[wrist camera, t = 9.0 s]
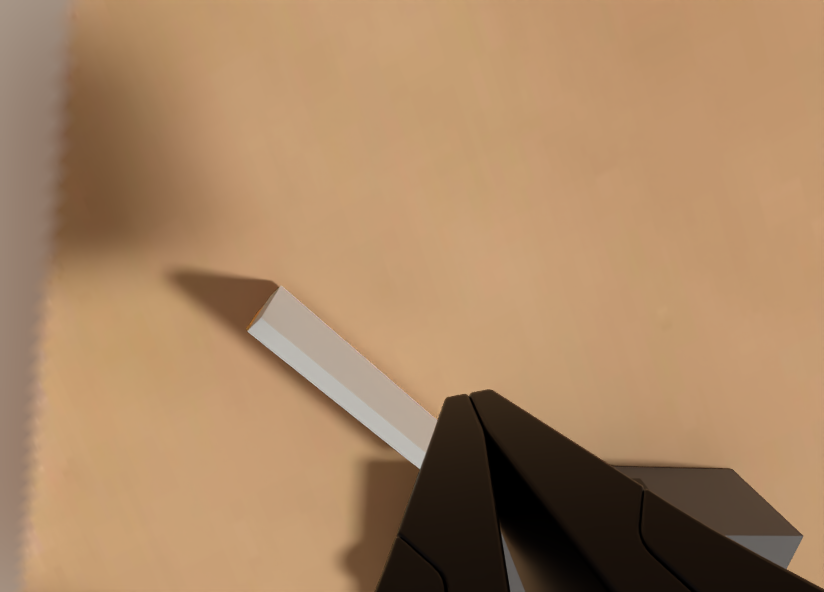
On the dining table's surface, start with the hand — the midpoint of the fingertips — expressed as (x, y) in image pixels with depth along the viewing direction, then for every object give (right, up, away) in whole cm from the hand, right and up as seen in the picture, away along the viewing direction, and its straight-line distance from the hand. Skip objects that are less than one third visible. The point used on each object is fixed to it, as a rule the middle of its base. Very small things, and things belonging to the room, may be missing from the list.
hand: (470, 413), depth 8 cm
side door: (-2, -1, +9) cm, 9 cm away
